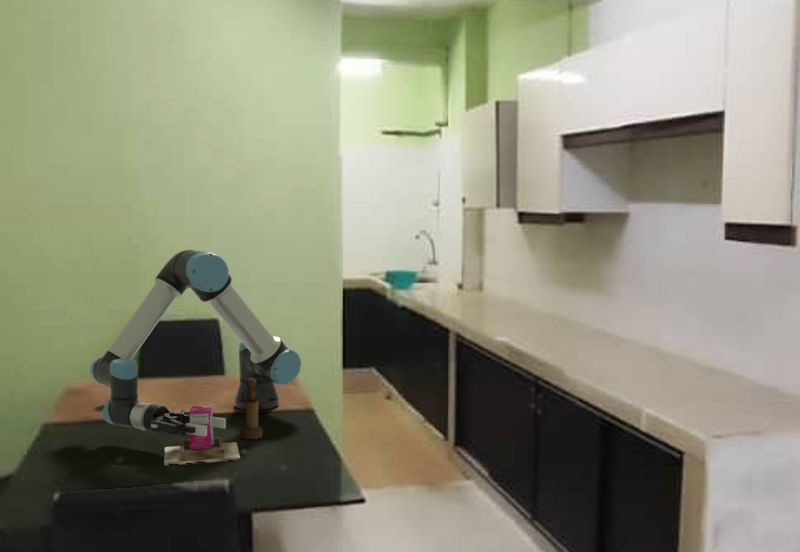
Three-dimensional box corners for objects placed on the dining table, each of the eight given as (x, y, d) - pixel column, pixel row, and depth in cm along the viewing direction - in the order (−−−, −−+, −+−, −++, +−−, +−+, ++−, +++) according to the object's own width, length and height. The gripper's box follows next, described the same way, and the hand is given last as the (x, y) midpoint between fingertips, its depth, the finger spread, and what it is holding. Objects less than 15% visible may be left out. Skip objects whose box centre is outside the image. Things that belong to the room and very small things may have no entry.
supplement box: (192, 445, 232) (192, 405, 230) (214, 444, 232) (213, 404, 231) (189, 451, 226) (188, 410, 225) (211, 451, 226) (210, 410, 225)
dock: (236, 444, 239) (236, 433, 239) (239, 459, 226) (239, 448, 226) (164, 449, 234) (164, 438, 234) (164, 465, 221) (164, 453, 220)
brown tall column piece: (266, 435, 249) (266, 376, 248) (256, 441, 243) (255, 381, 241) (247, 432, 252) (246, 374, 250) (236, 438, 245) (235, 379, 244)
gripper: (174, 421, 245) (238, 431, 236) (125, 439, 227) (191, 451, 217) (174, 396, 245) (237, 405, 235) (124, 412, 226) (191, 423, 217)
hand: (215, 427), depth 226 cm, fingers closed on supplement box, 8 cm apart
